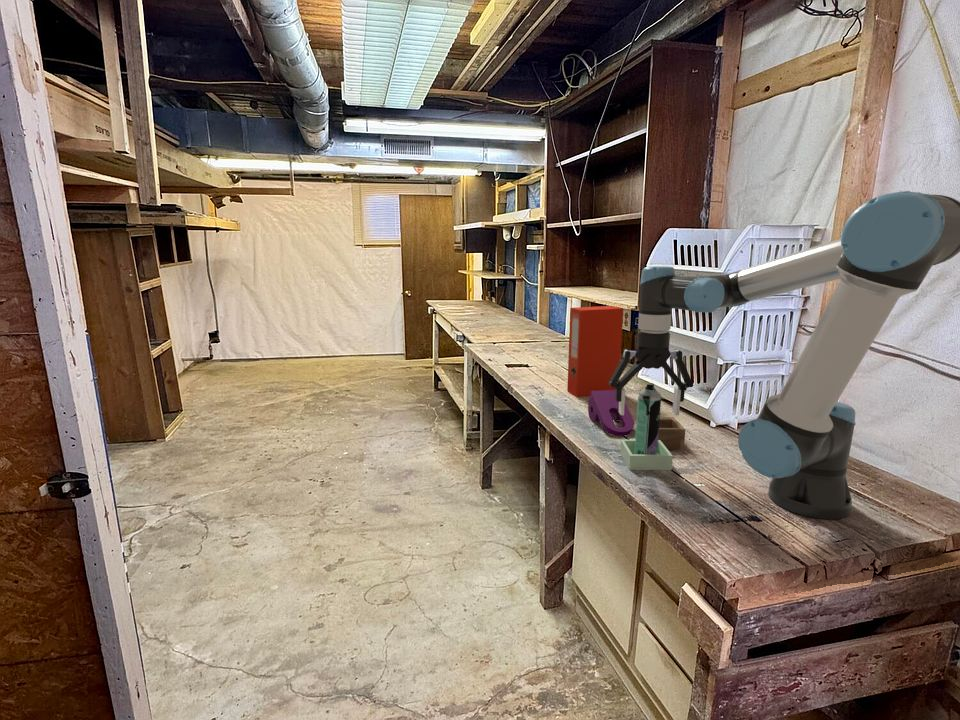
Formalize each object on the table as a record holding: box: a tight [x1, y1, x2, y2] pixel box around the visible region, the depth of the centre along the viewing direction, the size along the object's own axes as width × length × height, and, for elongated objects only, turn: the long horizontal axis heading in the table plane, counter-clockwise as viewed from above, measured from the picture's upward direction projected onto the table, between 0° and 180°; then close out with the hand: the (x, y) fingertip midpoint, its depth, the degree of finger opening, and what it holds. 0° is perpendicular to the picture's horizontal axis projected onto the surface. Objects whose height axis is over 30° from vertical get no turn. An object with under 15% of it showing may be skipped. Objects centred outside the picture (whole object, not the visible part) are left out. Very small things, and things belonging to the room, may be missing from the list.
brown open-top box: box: [658, 415, 686, 451], centre depth 145 cm, size 12×9×6 cm
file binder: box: [566, 305, 624, 398], centre depth 190 cm, size 8×17×32 cm, turn 108°
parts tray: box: [619, 439, 674, 471], centre depth 132 cm, size 10×10×4 cm
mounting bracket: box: [587, 390, 635, 437], centre depth 159 cm, size 9×8×18 cm
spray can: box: [634, 382, 662, 455], centre depth 130 cm, size 6×6×20 cm
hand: (648, 413), depth 130 cm, fingers open, 13 cm apart
